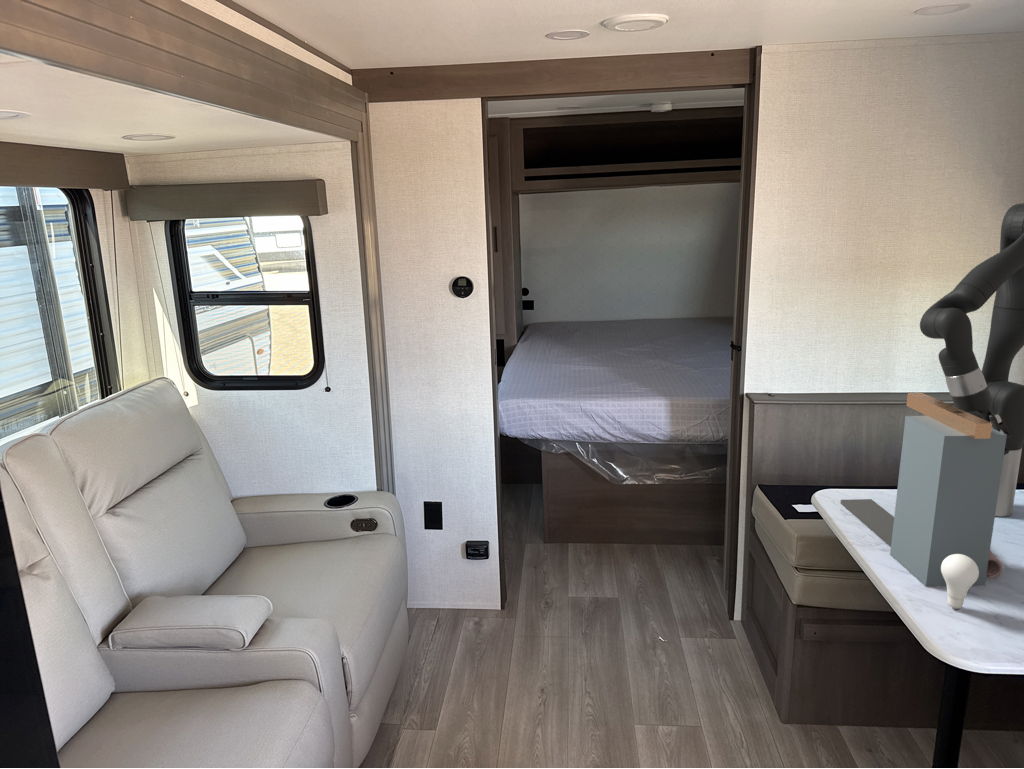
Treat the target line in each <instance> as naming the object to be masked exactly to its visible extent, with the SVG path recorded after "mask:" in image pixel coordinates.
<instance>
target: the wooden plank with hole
mask: <svg viewBox="0 0 1024 769" xmlns="http://www.w3.org/2000/svg"><path fill="white" fill-rule="evenodd" d="M906 407H907V408H910V409H912V410H914V411H917V412H918V413H920V414H922V415H923V416H928V417H930V418H932V419H935V420H937V421H939V422H941V423H943V424H945V425H947V426H949V427H951V428H953V429H955V430H957V431H959V432H961V433H963V434H966V435H968V436H970V437H972V438H974V439H990V437H991V429H992V427H993V426H992V423H990V422H988V421H986V420H984V419H981V418H979V417H977V416H974V415H972V414H970V413H967V412H965V411H963V410H960V409H958V408H956V407H955V405H954V406H953V405H951V404H949V403H946V402H944V401H942V400H940V399H937V398H936V397H933V396H930V395H928V394H925V393H924V392H907V398H906Z"/></svg>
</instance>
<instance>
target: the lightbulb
mask: <svg viewBox="0 0 1024 769" xmlns="http://www.w3.org/2000/svg"><path fill="white" fill-rule="evenodd" d="M941 572H942V575H943V577H944V579H945V581H946V585H947V586H946V593H947V605H948V606H949V607H951V608H952V609H954V610H957V609H962V608H963V606H964V602H965V599H966V598H967V594H968V591H969V590H970V588H971V587H973V586H972V585H973V584H974V583H975V582H976V580H977V579H978V576H979V570H978V566H977V565H976V563H975V562H974V561H973V560H972V559H971V558H970V557H968V556H965V555H962V554H953V555H950V556H948V557H946V558H945V559H944V560H943V562H942V564H941Z"/></svg>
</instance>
